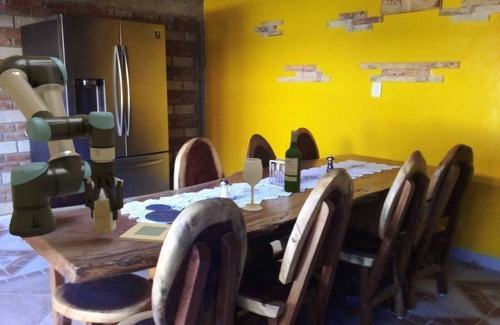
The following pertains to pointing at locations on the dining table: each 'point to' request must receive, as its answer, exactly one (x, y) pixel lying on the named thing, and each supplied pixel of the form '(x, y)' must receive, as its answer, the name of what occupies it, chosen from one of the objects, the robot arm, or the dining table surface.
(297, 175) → the wine bottle
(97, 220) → the box
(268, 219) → the dining table surface
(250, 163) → the wineglass
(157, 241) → the tile
